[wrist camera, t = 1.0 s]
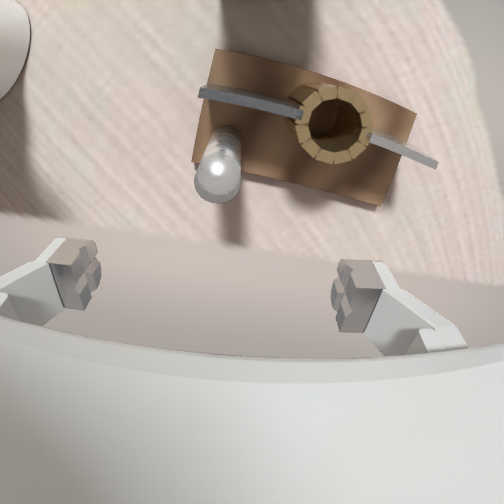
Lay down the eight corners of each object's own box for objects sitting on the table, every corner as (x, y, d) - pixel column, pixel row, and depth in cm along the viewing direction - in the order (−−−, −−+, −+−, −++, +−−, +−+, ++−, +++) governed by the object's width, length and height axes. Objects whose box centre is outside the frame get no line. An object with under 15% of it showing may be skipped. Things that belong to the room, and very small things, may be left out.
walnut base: (193, 157, 32) (191, 161, 30) (216, 49, 25) (215, 48, 24) (375, 201, 35) (380, 206, 34) (410, 111, 29) (416, 113, 28)
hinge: (201, 117, 28) (191, 131, 22) (215, 56, 24) (208, 52, 19) (394, 169, 31) (424, 195, 26) (413, 119, 28) (448, 135, 22)
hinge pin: (208, 150, 30) (190, 198, 20) (214, 122, 28) (198, 156, 18) (237, 156, 30) (235, 207, 20) (243, 128, 29) (245, 165, 19)
